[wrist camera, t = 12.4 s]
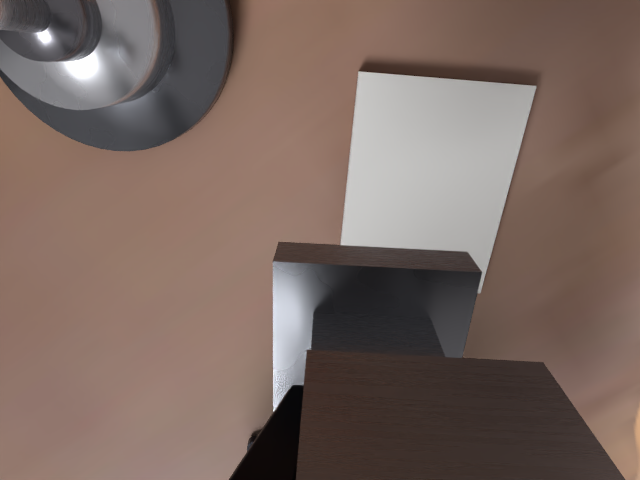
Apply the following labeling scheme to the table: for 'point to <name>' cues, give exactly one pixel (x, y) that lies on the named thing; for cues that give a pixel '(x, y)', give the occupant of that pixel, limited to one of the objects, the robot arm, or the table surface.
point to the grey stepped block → (412, 375)
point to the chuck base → (157, 87)
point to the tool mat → (432, 162)
